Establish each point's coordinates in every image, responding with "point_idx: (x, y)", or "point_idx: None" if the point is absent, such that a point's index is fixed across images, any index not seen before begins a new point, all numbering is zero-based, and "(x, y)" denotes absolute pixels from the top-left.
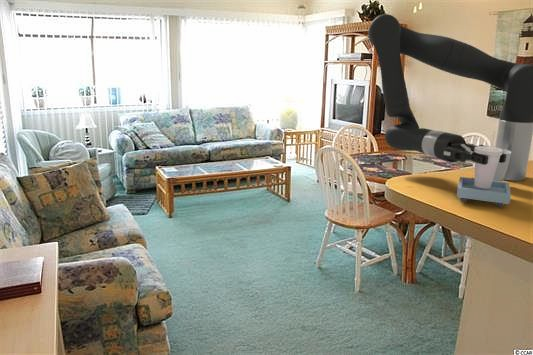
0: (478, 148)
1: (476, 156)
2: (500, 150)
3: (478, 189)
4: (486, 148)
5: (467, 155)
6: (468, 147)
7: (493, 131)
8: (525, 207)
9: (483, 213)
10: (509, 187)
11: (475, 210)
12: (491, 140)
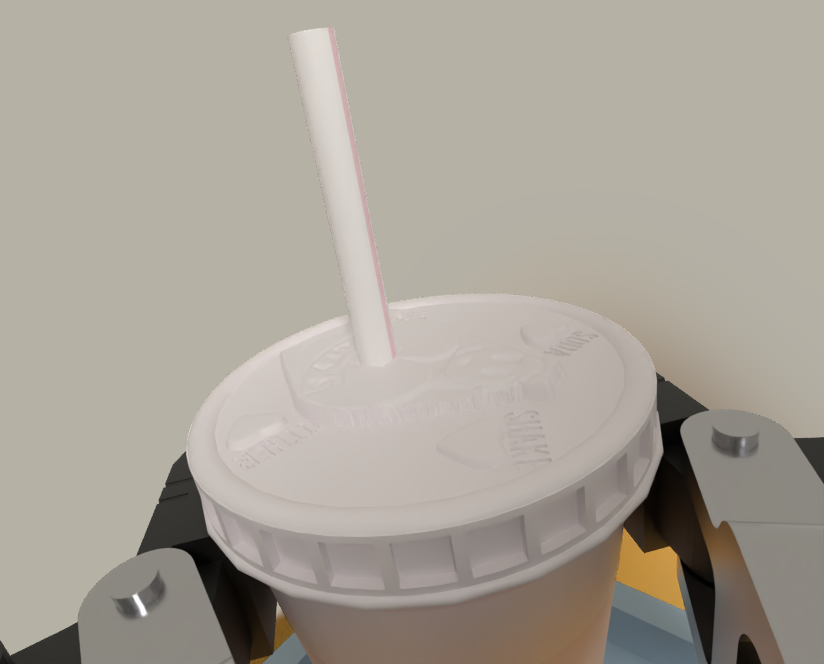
0: (583, 387)
1: (671, 388)
2: (302, 344)
3: (620, 611)
4: (468, 344)
5: (815, 453)
6: (772, 609)
7: (314, 31)
8: (281, 629)
9: (635, 552)
10: (281, 646)
11: (672, 601)
12: (369, 219)
